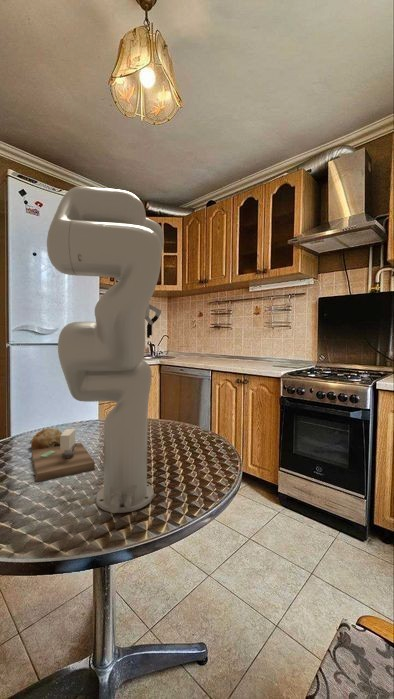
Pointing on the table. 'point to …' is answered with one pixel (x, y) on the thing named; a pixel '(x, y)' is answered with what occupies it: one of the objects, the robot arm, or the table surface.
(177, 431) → the table surface
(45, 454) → the dial marks
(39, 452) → the brown wooden flat board
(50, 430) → the bread roll
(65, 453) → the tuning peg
